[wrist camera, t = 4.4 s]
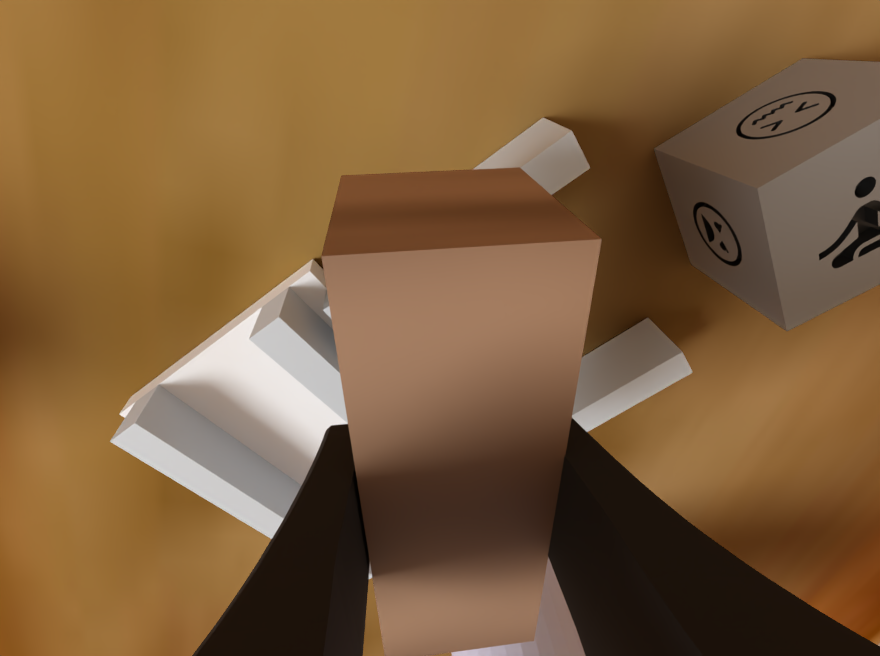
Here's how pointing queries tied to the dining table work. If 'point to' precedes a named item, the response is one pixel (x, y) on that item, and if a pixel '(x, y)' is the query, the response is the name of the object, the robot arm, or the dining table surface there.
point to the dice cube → (785, 189)
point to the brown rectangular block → (457, 391)
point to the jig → (333, 377)
